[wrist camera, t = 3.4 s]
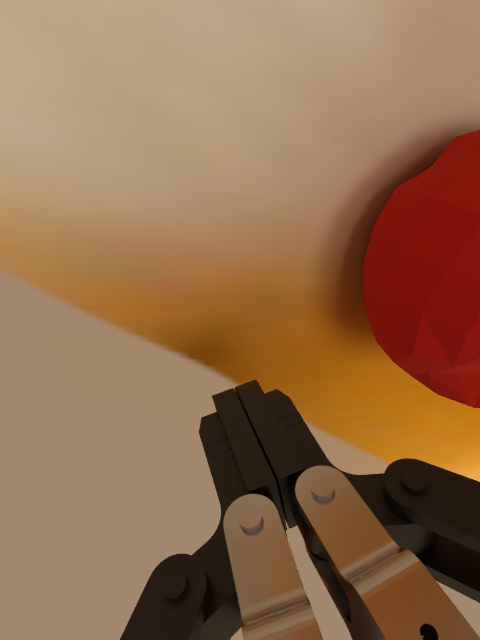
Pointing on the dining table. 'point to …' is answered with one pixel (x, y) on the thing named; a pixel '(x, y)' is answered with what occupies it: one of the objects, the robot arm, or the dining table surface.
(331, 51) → the dining table surface
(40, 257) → the dining table surface
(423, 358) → the tomato
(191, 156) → the dining table surface
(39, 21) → the dining table surface
